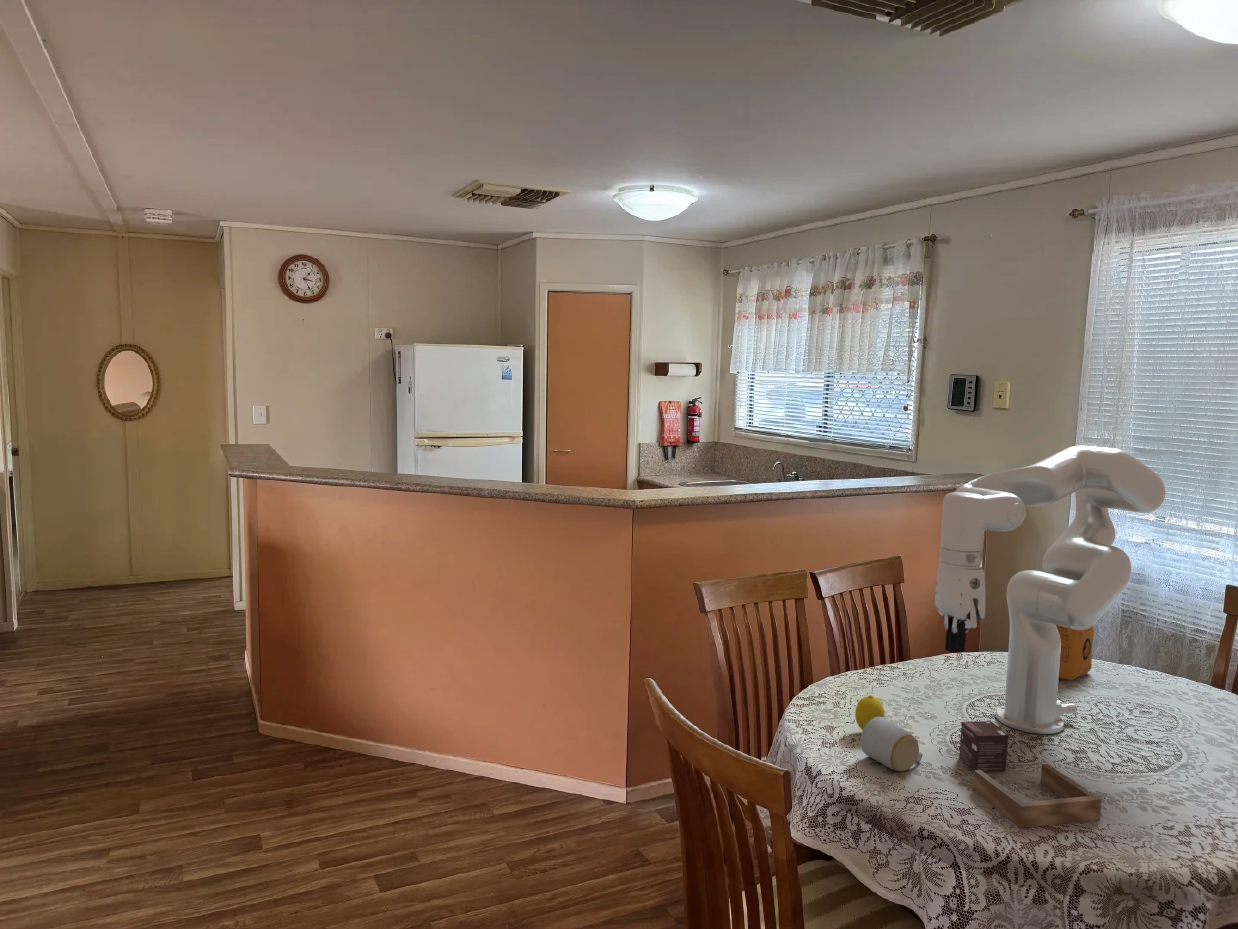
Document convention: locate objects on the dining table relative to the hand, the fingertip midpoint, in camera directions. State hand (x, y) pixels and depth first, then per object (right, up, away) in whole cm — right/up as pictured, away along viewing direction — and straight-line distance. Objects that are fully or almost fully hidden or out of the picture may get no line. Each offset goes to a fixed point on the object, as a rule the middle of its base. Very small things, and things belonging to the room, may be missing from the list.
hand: (954, 651), depth 160 cm
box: (+2, -20, -8) cm, 21 cm away
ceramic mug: (-14, -19, -7) cm, 25 cm away
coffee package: (+43, -15, +41) cm, 61 cm away
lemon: (-15, -18, +5) cm, 24 cm away
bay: (+5, -21, -21) cm, 30 cm away
